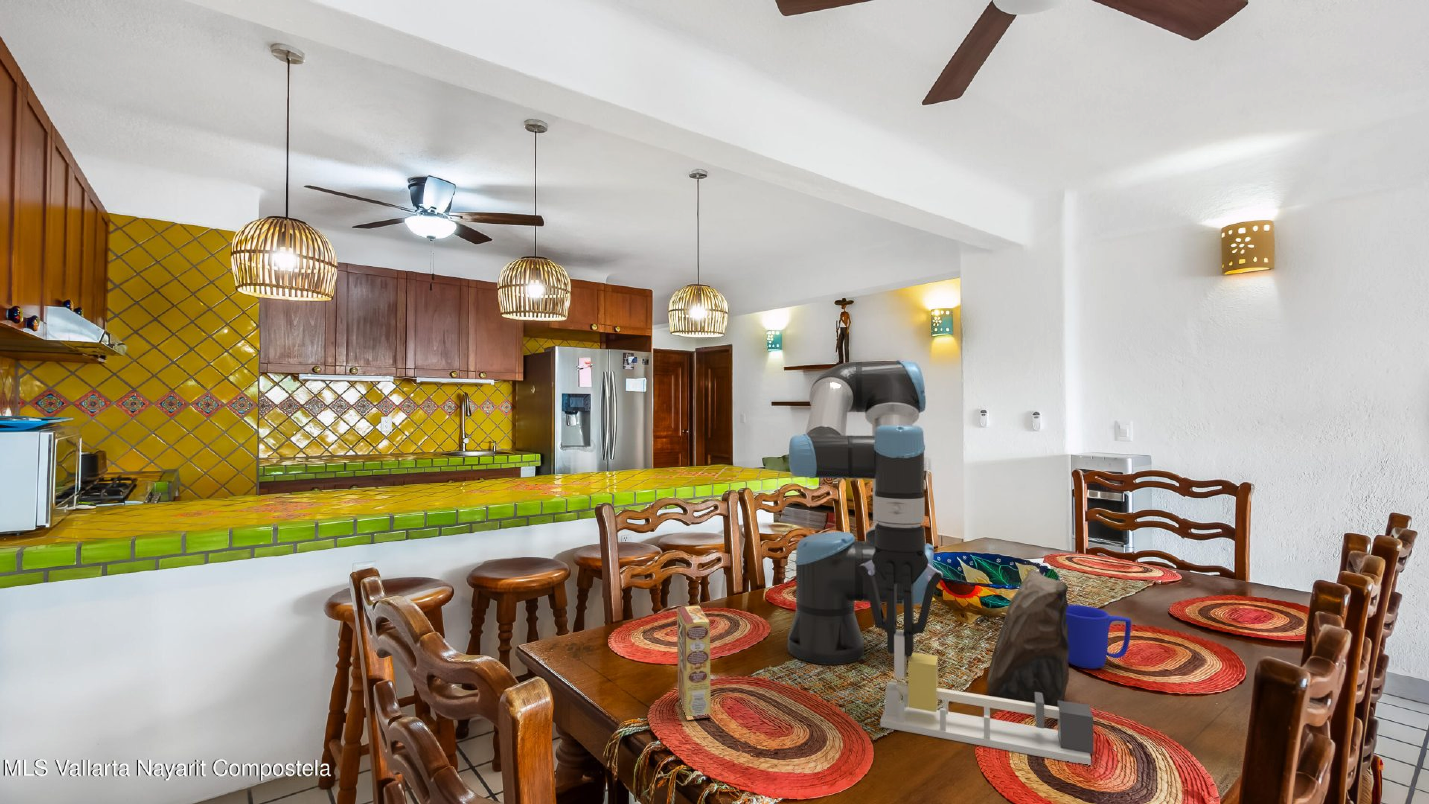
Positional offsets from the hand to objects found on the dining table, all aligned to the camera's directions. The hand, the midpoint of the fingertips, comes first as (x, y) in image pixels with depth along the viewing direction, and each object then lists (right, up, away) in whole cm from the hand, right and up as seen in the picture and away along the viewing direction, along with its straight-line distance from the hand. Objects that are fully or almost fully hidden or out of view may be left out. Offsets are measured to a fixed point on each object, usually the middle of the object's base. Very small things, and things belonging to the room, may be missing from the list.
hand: (900, 674), depth 100 cm
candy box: (-33, -7, +4) cm, 34 cm away
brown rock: (+24, -7, +9) cm, 27 cm away
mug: (+43, -8, +22) cm, 49 cm away
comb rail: (+11, -7, -4) cm, 13 cm away
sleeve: (+3, -4, -1) cm, 5 cm away
